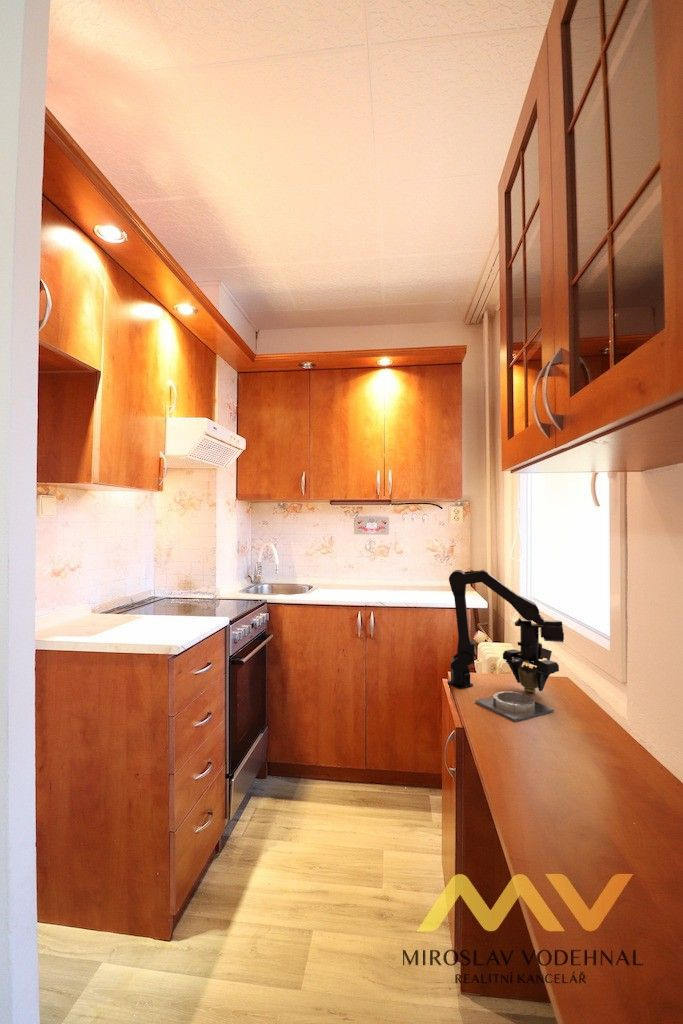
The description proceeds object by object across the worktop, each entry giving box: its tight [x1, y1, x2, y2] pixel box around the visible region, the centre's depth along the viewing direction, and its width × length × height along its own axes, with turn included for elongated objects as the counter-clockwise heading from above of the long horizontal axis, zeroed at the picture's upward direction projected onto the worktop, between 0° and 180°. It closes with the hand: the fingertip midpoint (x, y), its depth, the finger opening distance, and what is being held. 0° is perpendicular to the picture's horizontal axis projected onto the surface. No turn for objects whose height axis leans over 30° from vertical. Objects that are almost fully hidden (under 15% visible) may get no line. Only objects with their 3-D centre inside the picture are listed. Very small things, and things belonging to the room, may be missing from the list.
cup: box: [518, 664, 538, 694], centre depth 159 cm, size 8×7×8 cm
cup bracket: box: [474, 690, 555, 723], centre depth 146 cm, size 16×16×3 cm
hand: (529, 686), depth 159 cm, fingers open, 9 cm apart
